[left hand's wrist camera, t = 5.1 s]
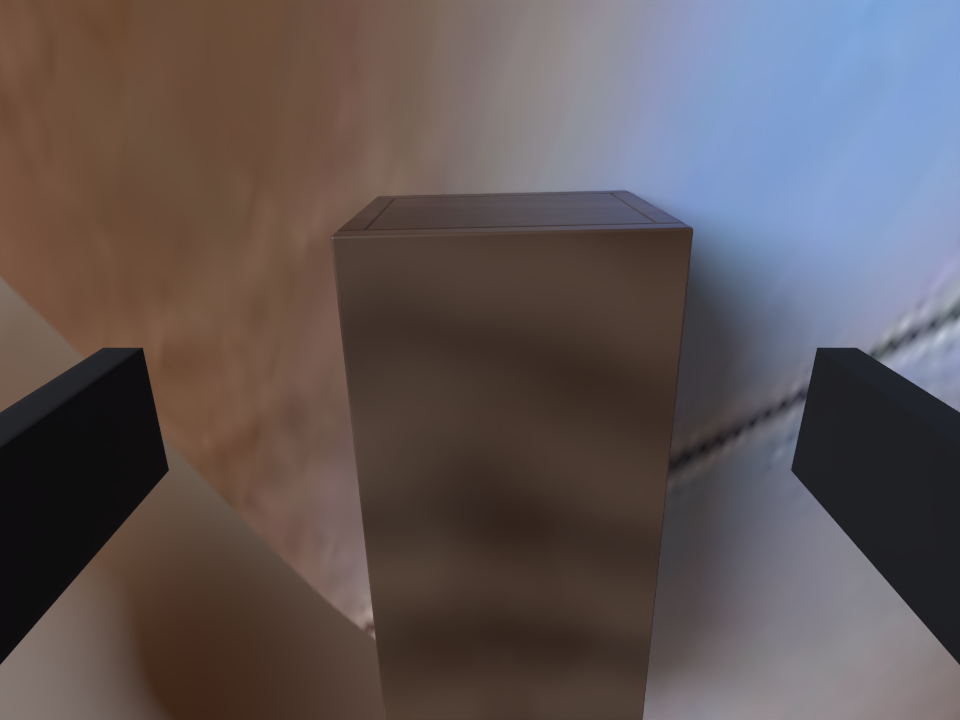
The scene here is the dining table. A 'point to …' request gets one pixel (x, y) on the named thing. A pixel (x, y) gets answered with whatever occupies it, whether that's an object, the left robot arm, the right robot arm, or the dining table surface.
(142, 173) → the dining table surface
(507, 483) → the cabinet
